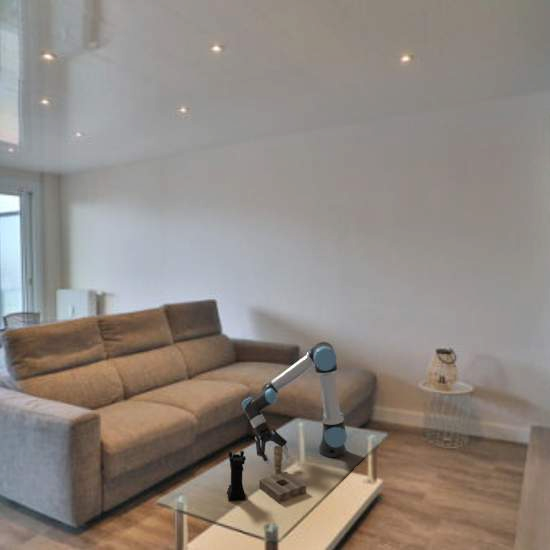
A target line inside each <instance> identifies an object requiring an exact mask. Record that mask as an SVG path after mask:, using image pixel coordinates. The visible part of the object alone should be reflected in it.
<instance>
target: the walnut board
mask: <svg viewBox="0 0 550 550" xmlns="http://www.w3.org/2000/svg"><path fill="white" fill-rule="evenodd" d="M258 485H259V487H258V489H260V490H261V491H262V492H263V493H265V494H266V495H268V496H269V497H270V498H272V499H273V500H274V501H276V503H278V504H281V503H284V502H286V501H289V500H292V499H294V498H297V497H299V496H302V495H305V494H307V484H306V483H305V482H303V481H302V480H300V479H298V478H297V477H295V476H293V475H292V474H291V473H289V472H288V471H284V472H281V473H276V474H274V475H271V476H269V477H268V476H267V477H265V478H262V479H259V484H258Z"/></svg>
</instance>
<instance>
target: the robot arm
mask: <svg viewBox="0 0 550 550" xmlns="http://www.w3.org/2000/svg"><path fill="white" fill-rule="evenodd" d="M337 359H338V358H337V354H336V352H335V349H334V347H333V345H331V343H330V342H328V341H327V342H326V341H321V342H318V343H316V344H315V345H314V346H313V347H311V348H310V349H309V350H307V352H306V354H305V355H304V356H303V357H301V358H300V359H298V360H297V361H296V362H295V363H293V364H292V365H291V366H289V367H288V368H286V369H285V370H284V371H283V372H281V373H280V374H279V375H277V376H276V377H275V378H273V379H272V380H271V381H269V382H265V383H264V384H263V386H262V387H261V392H260V394H259V395H258V396H257V397H255V398H254V397H253V396H249V397H248V398H246V399H244V400H243V401H242V402H241V406H242V409H243V412H244V413H245V415H246V417H247V419H248V420H249V422H250V424H251V426H252V428H254V432H255V434H256V435H255V437H254V441H255V448H256V455H257V456H258V457H262V460H263V462H265V464H266V465H267V468H271V467H272V466H273V463H272V461H271V459H270V458H269V455H268V453H267V452H266V443H267V442H273V443H275V444H276V445H277V446H281V447H283V455H284V457H285V459H286V460H288V459H289V458H291V455H290V452H289V449H288V447H287V443H288V442H287V440H286V439H285V438H284V437H283V436H282V435H280V434H279V433H278V432H277V430H276V429H275V428H273V429H272V430H270V426H269V424H268V422H266V421H267V420H266V419H265V417H264V415H263V412H262V411H264V410H265V409H267V408H268V407H270V406H271V405H273V404H275V402H276V401H278V399H279V397H278V393H280V392H281V391H282V390H284V389H286V388H287V386H289V385H291V384H292V383H293V382H295V381H296V380H297V379H298V378H300V377H301V376H302V375H304V374H305V373H307V372H308V371H309V370H311V369H312V368H313V367H314V368H315V373H317V374H318V377H319V383H320V384H319V386H320V393H321V400H322V407H323V415H322V438H321V441H320V444H319V447H318V453H319V454H320V453H321V454H320V455H322V456H324V457H326V458H333V457H337V458H341V457H340V456H342V457H344V456H345V455H346V454H347V453H346V451H347V448H346V445H345V443H346V442H347V439H348V435H347V432H346V424H345V417H344V416H345V414H344V413H343V412H341V409H340V401H339V393H338V392H339V391H338V386H337V378H336V372H337V371H338V363H337ZM345 453H346V454H345ZM344 454H345V455H344ZM343 455H344V456H343Z"/></svg>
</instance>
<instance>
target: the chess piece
mask: <svg viewBox="0 0 550 550" xmlns="http://www.w3.org/2000/svg"><path fill="white" fill-rule="evenodd" d="M227 454H228V459H229V467H230V484H229V485H228V488H227V491H226V495H228V496H227V501H231V502H240V501H246V500H247V498H246V494H245V489H244V485H243V471H244V466H243V465H245V461H246V459H247V458H246V456H245V451H244V450H240V453H235V454H233V451H228V453H227Z"/></svg>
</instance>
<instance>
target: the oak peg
mask: <svg viewBox="0 0 550 550" xmlns="http://www.w3.org/2000/svg"><path fill="white" fill-rule="evenodd" d="M283 455H284V453H283V447H281V446H279V445H275V446H274V447H273V460H274V473H275V474H280V473H282V471H281V470H282V461H283Z"/></svg>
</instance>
